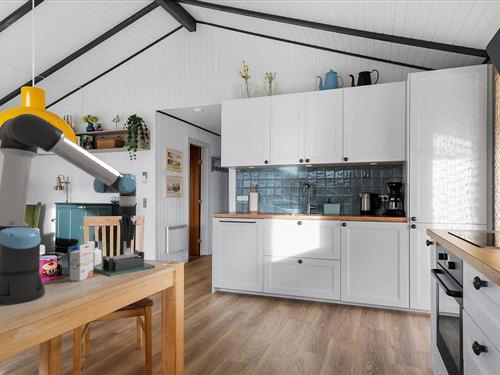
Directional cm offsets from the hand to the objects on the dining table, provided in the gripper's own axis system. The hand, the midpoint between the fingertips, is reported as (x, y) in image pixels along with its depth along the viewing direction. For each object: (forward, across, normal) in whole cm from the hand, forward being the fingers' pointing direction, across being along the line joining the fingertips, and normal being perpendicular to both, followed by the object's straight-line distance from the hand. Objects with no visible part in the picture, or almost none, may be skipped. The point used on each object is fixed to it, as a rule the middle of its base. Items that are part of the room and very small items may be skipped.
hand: (127, 254), depth 157 cm
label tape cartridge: (+7, +11, +21) cm, 25 cm away
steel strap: (+2, 0, +2) cm, 2 cm away
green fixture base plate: (+7, 0, +1) cm, 7 cm away
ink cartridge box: (+7, -4, +22) cm, 24 cm away
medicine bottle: (+7, +21, +8) cm, 24 cm away
